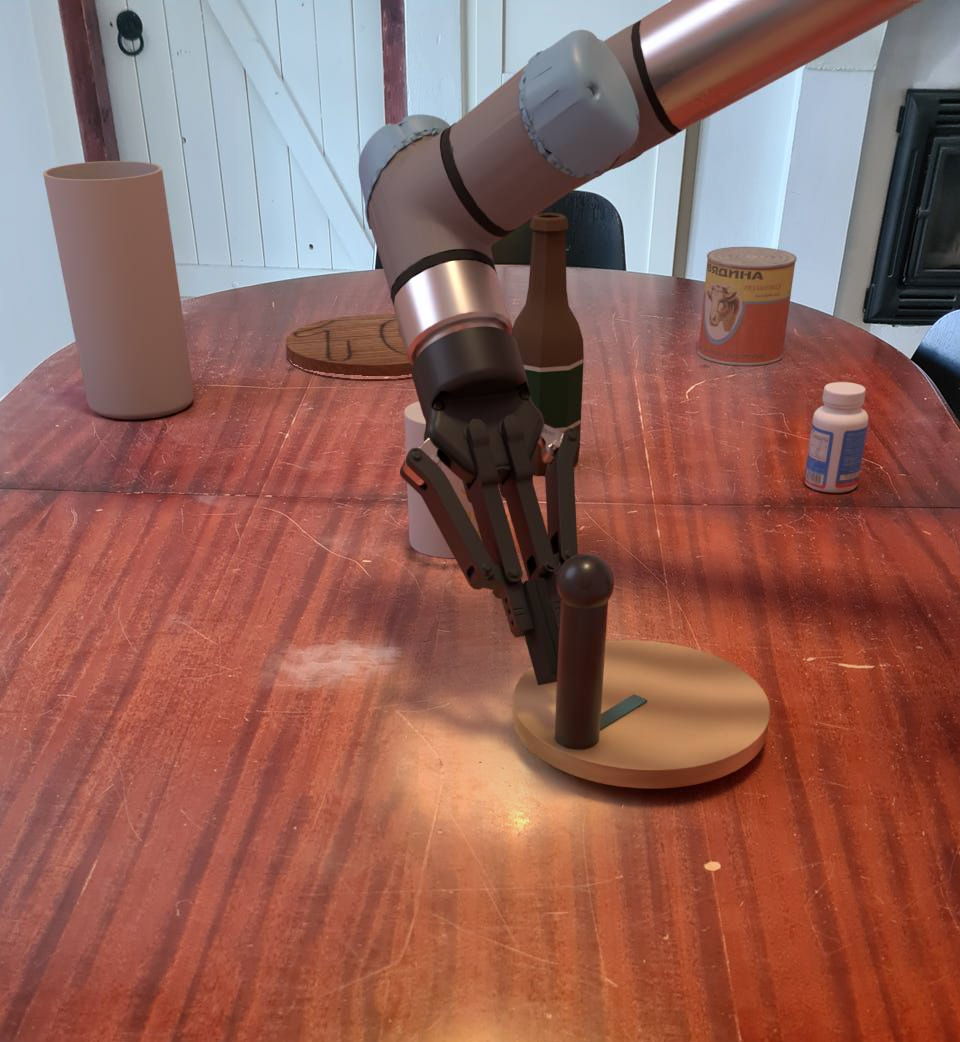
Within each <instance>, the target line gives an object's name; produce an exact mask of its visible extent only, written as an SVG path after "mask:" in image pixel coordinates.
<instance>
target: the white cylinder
mask: <svg viewBox="0 0 960 1042" xmlns="http://www.w3.org/2000/svg"><path fill="white" fill-rule="evenodd" d="M403 417H404V418H403V419H404V420H403V421H404V442H405V443H404V444H405V457H406V456H407V454H408V452H409V451H410V450H411V449H412V448H419V447H420V446H421V445H422V444H423V443H424V432H425V428H426V421H425V418H424V416H423V413H422V410H421V406H420V403H419V400H418V401H415V402H412V403H410V404H409V405H407V406H406V407H405V408H404V410H403ZM440 462H441V461H440ZM441 464H442V467H441V469H442V471H443V472H444V473H445V475H446V476H447V478H448V480H449V481H450V483H451V485H452V487H453V489H454V491H455V493H456V494H457V496H458V498H459V500H460V502H461V504H462V505H463V507H464V509H465V511H466V513H467V515H468V517H469V518H470V520H471V522H472V524H473V526H474V528H475V529H476V531H477V533H478V535H479V537H480V539H481V535H480V532H479V528H478V525H477V521H476V518H475V514H474V510H473V507H472V504H471V503H470V502H469V501H468V499H467V496H466V492H465V489H464V485H463V482H462V480H461V479H460V478H459V477H457V476H456V475H455V474H454V473H453V472H452V471H451V470H450V469H449V468H447V467H446V466H445V465H444V464H443V463H442V462H441ZM406 490H407V493H406V494H407V515H408V540H409V545H410V546H411V548H412V549H413V550H414V551H416V552H418V553H420V554H422V555H425V556H429V557H433V558H440V559H441V558H443V559H455V557H454V556H453V554H452V552H451V550H450V548H449V546H448V544H447V543H446V541H445V539H444V537H443V535H442V533H441V532H440V530H439V528H438V526H437V524H436V522H435V521H434V519H433V517H432V515H431V513H430V511H429V509H428V508H427V506H426V504H425V502H424V500H423V498H422V497H421V495H420V494H419V493H418V492H417V491H416V490H415V489H414V488H412V487H411V486H410V485H409V484H408V483H407V482H406ZM481 540H482V539H481Z"/></svg>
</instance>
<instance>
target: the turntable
mask: <svg viewBox="0 0 960 1042" xmlns="http://www.w3.org/2000/svg"><path fill="white" fill-rule="evenodd" d="M614 576H615V575H614V573H613V570H612V568H611V566H610V565H609V563H608V562H607V561H606V560H605V559H604V558H602V557H601V556H599V555H596V554H594V553H589V552H581V553H578V554H577V555H574V556H572V557H570V558H569V559H567V560H566V561H565V562H564V563H563V564H562V566H561V567H560V569H559V571H558V573H557V577H556V590H557V593H558V596H559V598H560V611H559V637H558V663H557V682H553V683H548V684H543V685H538V683H537V680H536V676H535V673H534V669H533V666H532V665H531V666H530V667H528V669H527V670H525V672H524V673H523V674H522V675H521V676H520V677H519V679H518V681H517V682H516V684H515V687H514V689H513V693H512V723H513V726H514V730H515V732H516V734H517V736H518V738H519V740H521V742H522V744H523V745H524V746H525V747H526V748H527V749H528V750H530V751H531V753H533V754H534V755H535V756H537V757H538V758H539V759H541V761H544V762H545V763H546V764H548V765H550V766H552V767H553V768H555V769H558V770H560V771H562V772H565V773H567V774H569V775H572V776H574V777H577V778H580V779H584V780H587V781H591V782H593V783H594V782H595V783H599V784H604V785H609V786H615V787H621V788H632V789H656V790H657V789H675V788H682V787H689V786H694V785H699V784H703V783H708V782H711V781H714V780H717V779H720V778H723V777H726V776H727V775H730V774H732V773H734V772H737V771H738V770H739V769H741V768H743V767H745V766H747V764H748V763H749V762H751V761H752V760H754V758H756V756H757V755H758V754H759V753H760V751H761V750H762V748H763V746H764V744H765V742H766V740H767V736H768V731H769V726H770V719H771V706H770V705H771V704H770V702H769V698H768V696H767V694H766V692H765V691H764V689H763V687H762V686H761V685H760V684H759V683H758V681H756V680H755V678H753V677H752V676H751V675H750V674H749V673H748V672H747V671H745V670H743V669H742V668H740V667H739V666H737V665H735V664H734V663H732V662H730V661H728V660H726V659H724V658H721V657H719V656H717V655H715V654H712V653H709V652H706V651H704V650H701V649H697V648H694V647H689V646H685V645H682V644H676V643H669V642H662V641H656V640H643V639H642V640H641V639H622V640H621V639H617V640H616V639H615V640H607V627H608V626H607V625H608V610H609V600H610V599H611V597H612V595H613V593H614V588H615V577H614Z"/></svg>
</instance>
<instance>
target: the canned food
mask: <svg viewBox="0 0 960 1042" xmlns="http://www.w3.org/2000/svg"><path fill="white" fill-rule="evenodd" d="M797 258H798V257H797V256H796V255H795V254H794V253H792V252H789V251H786V250H782V249H778V248H777V249H776V248H771V247H763V246H762V247H761V246H728V247H721V248H716V249H713V250H711V251H709V252H708V253H707V255H706V259H707V260H706V270H705V281H704V290H703V300H702V310H701V322H700V331H699V339H698V348H697V355H698V356H699V357H701V358H703V359H704V360H707V361H710V362H711V363H717V364H722V365H728V366H741V367H753V366H755V367H756V366H764V365H770V364H773V363H776V362H778V361H780V360H782V359H783V357H784V347H785V339H786V332H787V325H788V318H789V311H790V303H791V296H792V289H793V281H794V274H795V267H796V262H797Z"/></svg>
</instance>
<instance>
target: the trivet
mask: <svg viewBox="0 0 960 1042" xmlns="http://www.w3.org/2000/svg"><path fill="white" fill-rule="evenodd" d="M285 349H286V350H285V351H286V360H287V361H288V362H289V363H290V364H291V365H292V366H293V367H295V368H297V369H299V370H301V371H302V372H305V373H309V374H311V375H316V376H321V377H324V378H331V379H338V380H339V379H340V380H349V381H373V382H374V381H375V382H376V381H397V380H398V381H399V380H406V379H413V378H412V377H406V378H398V379H350V378H340V377H332V376H325V375H320V374H317V373H313V372H309V371H305V370H303V369H307V370H313V371H319V372H325V373H335V374H344V375H362V376H401V375H409V374H412V372H411V371H412V367H413V366H412V365H411V363H410V362H409V361H408V358H407V355H406V351H405V348H404V344H403V340H402V337H401V333H400V330H399V326H398V323H397V319H396V315H395V313H394V314H393V313H382V314H381V313H380V314H379V313H377V314H359V315H350V316H349V315H348V316H340V317H335V318H328V319H324V320H319V321H316V322H313V323H308V324H306V325H304V326H301V327H299V328H297V329H295V330H293V331H292V332H291V333H290V334H289V335H288V336H286V338H285ZM287 357H288V358H289V359H290V360H291V361H292V363H293V364H295V365H298V366H299V367H302V368H303V369H301V368H299V367H297V366H295V365H293V364H292V363H291V362H290V361H289V360H288V359H287Z"/></svg>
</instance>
